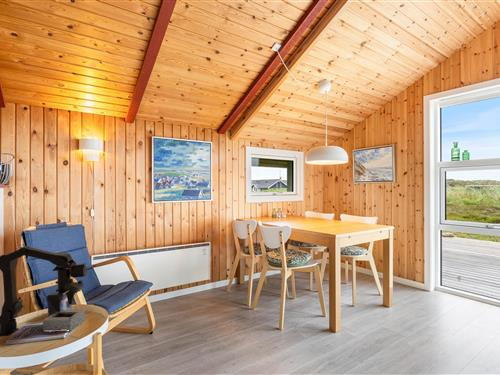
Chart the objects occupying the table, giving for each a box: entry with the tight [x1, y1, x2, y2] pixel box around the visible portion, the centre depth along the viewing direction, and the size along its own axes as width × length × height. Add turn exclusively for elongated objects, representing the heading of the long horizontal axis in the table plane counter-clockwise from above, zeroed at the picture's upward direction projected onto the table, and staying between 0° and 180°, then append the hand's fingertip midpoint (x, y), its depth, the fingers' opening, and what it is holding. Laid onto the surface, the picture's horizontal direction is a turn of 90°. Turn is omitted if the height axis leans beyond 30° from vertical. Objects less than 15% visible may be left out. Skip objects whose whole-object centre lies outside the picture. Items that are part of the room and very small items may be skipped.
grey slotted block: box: [42, 309, 86, 333], centre depth 148 cm, size 14×12×6 cm
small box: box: [47, 293, 73, 317], centre depth 163 cm, size 11×6×10 cm, turn 168°
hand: (64, 308), depth 149 cm, fingers open, 9 cm apart
